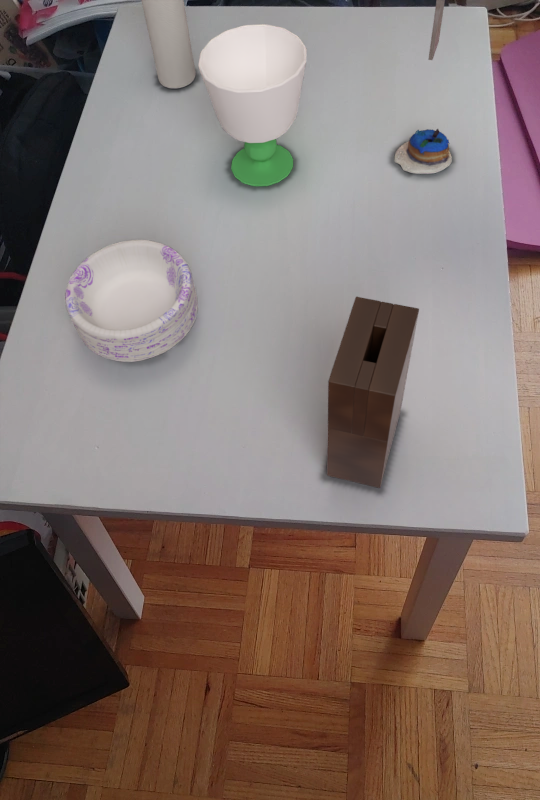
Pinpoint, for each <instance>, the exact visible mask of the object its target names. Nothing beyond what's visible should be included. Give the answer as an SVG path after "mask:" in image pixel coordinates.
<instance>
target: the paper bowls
mask: <svg viewBox="0 0 540 800" xmlns="http://www.w3.org/2000/svg"><path fill="white" fill-rule="evenodd" d="M64 294H65V295H64V296H65V297H64V303H65V308H66V312H67V315H68V316H69V318H70V319H71V322H72V324H73V326H74V328H75V329H76V331H77V334H78V336H79V337H80V339H81V340H82V343H84V345H85V346H86V347H87V348H88V349H89V350H90V351H92V353H94V354H95V355H98V356H100V357H103V358H104V359H107V360H112V361H117V362H123V363H134V362H140V361H145V360H148V359H151V358H155V357H157V356H160V355H162V354H164V353H166V352H168V351H170V350H171V349H172V348H174V347H175V346H176V345H177V344H178V343H180V342H181V341H182V340H183V339H185V337H186V336H187V335H188V334H189V332H190V331H191V329H192V328H193V326H194V324H195V322H196V318H197V315H198V309H199V302H198V295H197V291H196V286H195V283H194V278H193V274H192V271H191V267H190V266H189V264H188V263H187V261H186V260H185V258H184V257H183V256H182V255H181V254H180V253H179V252H178V251H176V250H175V249H174V248H172V247H170V246H169V245H166V244H164V243H162V242H158V241H154V240H148V239H129V240H123V241H119V242H115V243H112V244H109V245H106V246H104V247H103V248H102V247H101V248H100V249H99V250H97V251H94V252H93V253H91V254H90V255H89V256H88V257H86V258H85V259H84V260H82V262H80V264H78V266H77V267H76V268H75V270H74V271H73V273H72V274H71V275H70V278H69V280H68V282H67V284H66V289H65V293H64Z"/></svg>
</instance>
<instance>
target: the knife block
mask: <svg viewBox="0 0 540 800" xmlns="http://www.w3.org/2000/svg"><path fill="white" fill-rule="evenodd" d="M419 313H420V308H419V307H413V306H408V305H403V304H397V303H391V302H387V301H381V300H377V299H371V298H366V297H360V296H355V298H354V301H353V304H352V308H351V310H350V313H349V316H348V317H349V318H348V320H347V323H346V325H345V329H344V331H343V334H342V338H341V341H340V344H339V347H338V350H337V353H336V356H335V360H334V363H333V365H332V368H331V372H330V375H329V378H328V380H327V445H326V446H327V456H326V457H327V458H326V475H327V476H328V477H332V478H336V479H340V480H344V481H349V482H352V483H358V484H361V485H366V486H368V487H373V488H378V489H381V487H382V485H383V479H384V475H385V472H386V468H387V464H388V461H389V457H390V453H391V449H392V445H393V442H394V438H395V434H396V430H397V427H398V423H399V419H400V416H401V411H402V406H403V400H404V396H405V390H406V383H407V379H408V378H407V377H408V373H409V367H410V362H411V357H412V356H411V355H412V351H413V345H414V339H415V335H416V329H417V324H418V317H419Z"/></svg>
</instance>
